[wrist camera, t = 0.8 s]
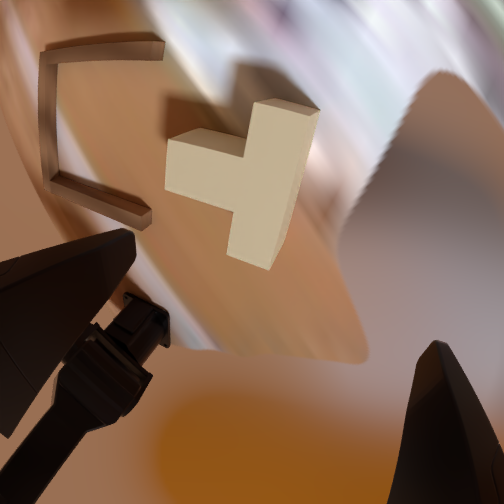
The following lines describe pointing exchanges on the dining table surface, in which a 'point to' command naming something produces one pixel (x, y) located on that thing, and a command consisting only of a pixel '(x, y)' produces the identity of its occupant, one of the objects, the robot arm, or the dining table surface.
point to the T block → (248, 174)
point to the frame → (47, 128)
